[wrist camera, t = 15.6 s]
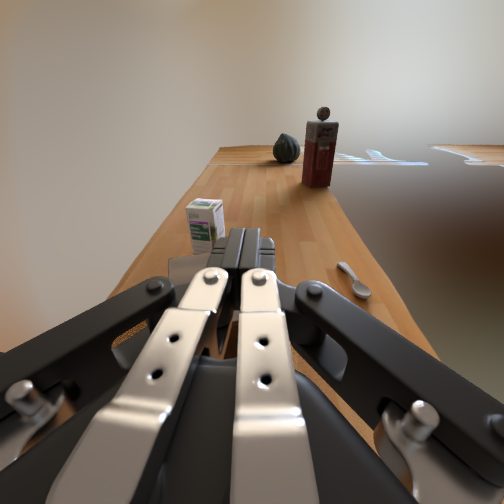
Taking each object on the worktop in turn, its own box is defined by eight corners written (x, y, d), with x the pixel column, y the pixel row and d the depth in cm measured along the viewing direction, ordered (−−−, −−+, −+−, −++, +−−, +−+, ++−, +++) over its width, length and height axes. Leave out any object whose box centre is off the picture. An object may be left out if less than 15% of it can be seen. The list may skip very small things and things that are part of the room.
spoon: (357, 302, 45) (359, 293, 44) (333, 267, 55) (334, 259, 54) (373, 301, 45) (375, 292, 44) (346, 266, 55) (347, 259, 54)
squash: (306, 152, 134) (298, 127, 136) (281, 156, 130) (273, 130, 132) (296, 166, 147) (289, 143, 149) (273, 170, 144) (266, 146, 145)
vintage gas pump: (311, 189, 98) (320, 108, 84) (301, 181, 108) (307, 106, 93) (332, 187, 100) (345, 107, 85) (320, 180, 109) (330, 106, 94)
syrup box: (194, 270, 54) (183, 207, 47) (205, 255, 59) (196, 196, 52) (219, 273, 53) (212, 209, 46) (228, 258, 58) (222, 198, 50)
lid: (169, 262, 41) (168, 258, 41) (248, 249, 44) (247, 245, 44) (170, 341, 28) (169, 336, 27) (283, 314, 31) (283, 309, 31)
